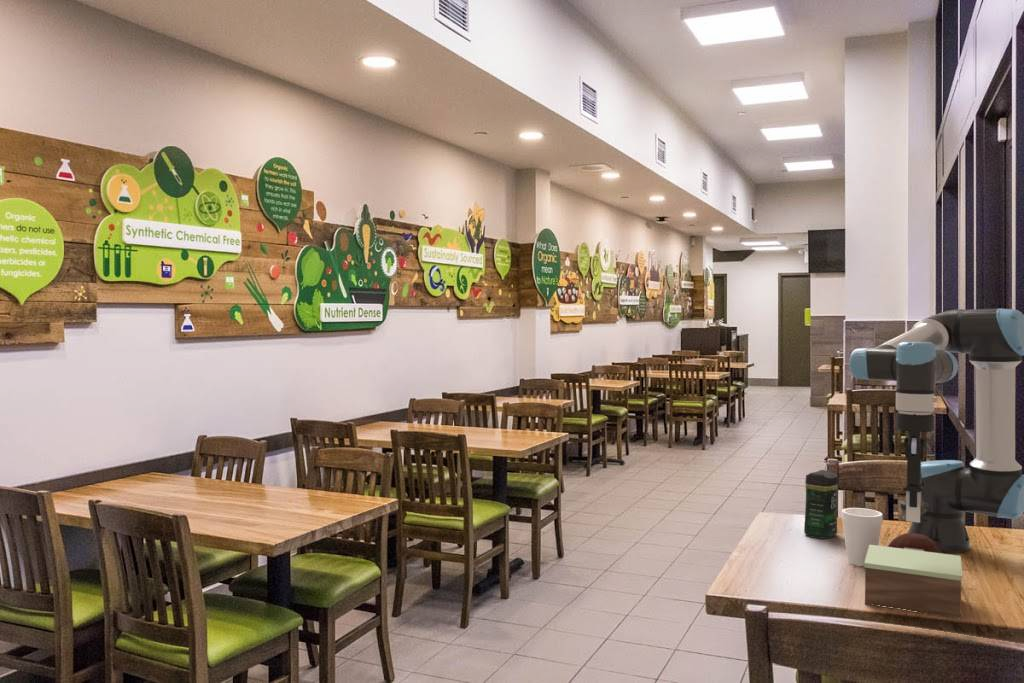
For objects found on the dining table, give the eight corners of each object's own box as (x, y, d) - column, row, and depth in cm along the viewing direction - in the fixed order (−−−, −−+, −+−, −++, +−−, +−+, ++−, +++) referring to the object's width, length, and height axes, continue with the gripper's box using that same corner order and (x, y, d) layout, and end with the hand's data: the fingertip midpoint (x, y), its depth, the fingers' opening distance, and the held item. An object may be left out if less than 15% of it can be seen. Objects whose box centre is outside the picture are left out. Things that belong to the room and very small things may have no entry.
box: (960, 619, 161) (961, 580, 161) (864, 604, 169) (865, 567, 169) (959, 598, 173) (959, 562, 173) (869, 585, 182) (870, 551, 181)
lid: (962, 583, 161) (962, 576, 160) (864, 570, 169) (864, 562, 169) (960, 561, 174) (960, 554, 174) (869, 549, 183) (869, 543, 183)
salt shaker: (927, 524, 167) (928, 468, 166) (897, 520, 170) (898, 465, 170) (929, 518, 172) (930, 464, 171) (899, 515, 175) (900, 461, 175)
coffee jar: (828, 541, 218) (828, 475, 218) (800, 535, 224) (801, 471, 223) (841, 534, 225) (842, 470, 225) (814, 529, 231) (814, 466, 230)
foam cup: (885, 570, 193) (886, 517, 193) (846, 567, 195) (846, 515, 194) (876, 558, 202) (876, 508, 202) (838, 556, 204) (838, 507, 204)
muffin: (916, 586, 181) (917, 543, 181) (877, 572, 191) (877, 531, 191) (952, 579, 186) (952, 538, 185) (911, 566, 196) (912, 526, 196)
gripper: (934, 418, 160) (932, 530, 161) (934, 409, 177) (933, 511, 177) (893, 415, 164) (892, 525, 164) (897, 407, 180) (896, 507, 181)
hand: (913, 517), depth 171 cm, fingers closed on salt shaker, 6 cm apart
